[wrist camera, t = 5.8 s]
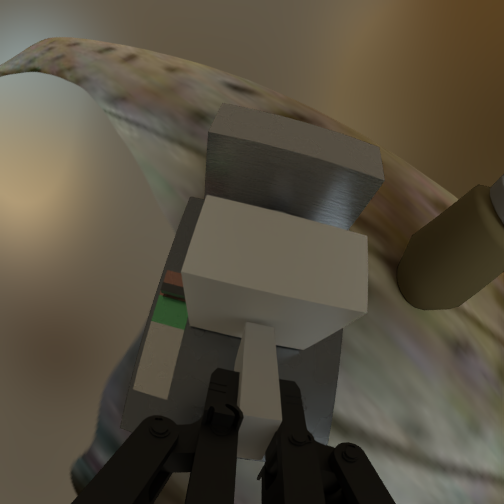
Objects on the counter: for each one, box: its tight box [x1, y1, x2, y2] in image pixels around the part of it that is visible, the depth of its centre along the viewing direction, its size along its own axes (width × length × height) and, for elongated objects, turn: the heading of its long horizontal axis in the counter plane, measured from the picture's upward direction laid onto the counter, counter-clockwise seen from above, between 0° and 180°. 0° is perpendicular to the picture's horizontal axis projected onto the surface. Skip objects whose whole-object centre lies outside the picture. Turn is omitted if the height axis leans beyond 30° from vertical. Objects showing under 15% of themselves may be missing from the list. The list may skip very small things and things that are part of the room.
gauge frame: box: [120, 103, 385, 462], centre depth 17 cm, size 14×19×12 cm
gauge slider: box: [160, 195, 368, 350], centre depth 17 cm, size 10×7×9 cm, turn 79°
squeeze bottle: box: [397, 174, 504, 310], centre depth 18 cm, size 8×8×18 cm
